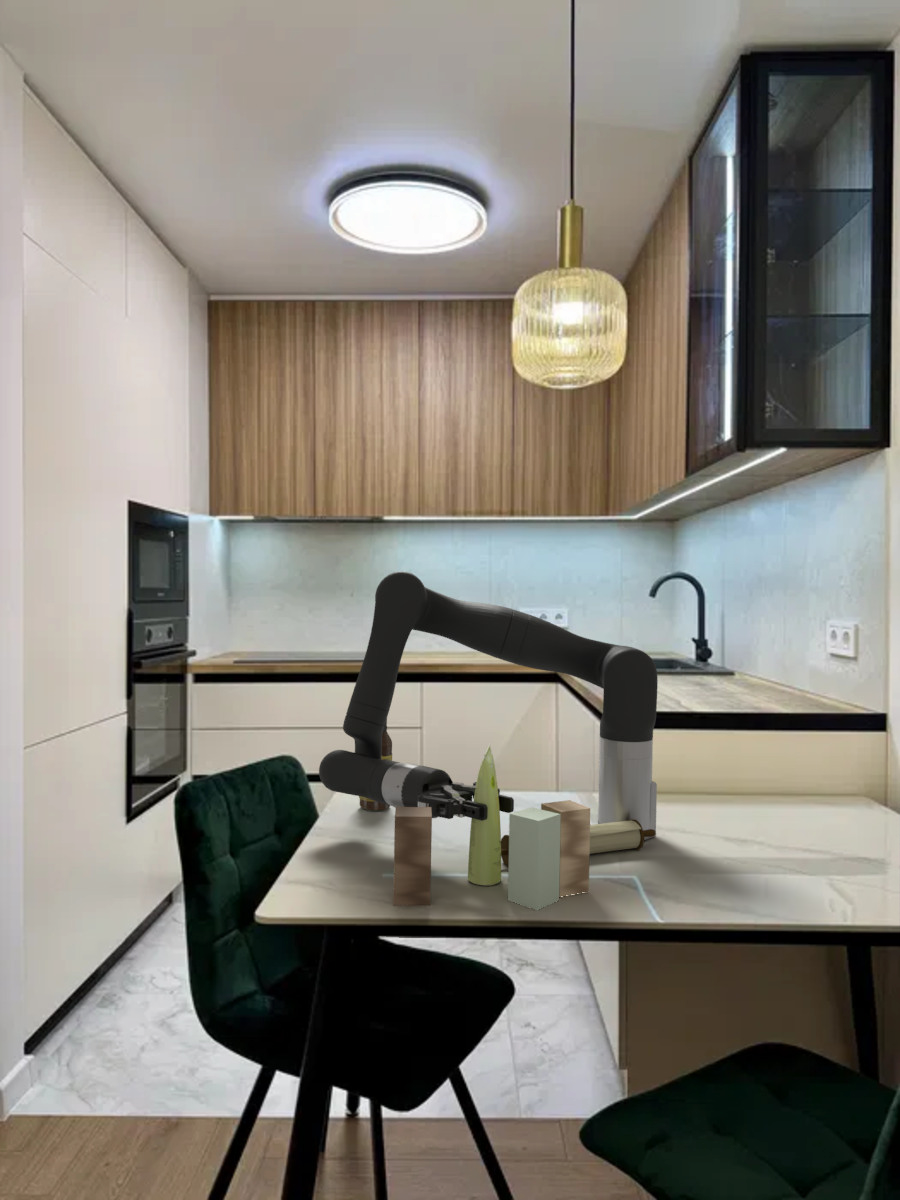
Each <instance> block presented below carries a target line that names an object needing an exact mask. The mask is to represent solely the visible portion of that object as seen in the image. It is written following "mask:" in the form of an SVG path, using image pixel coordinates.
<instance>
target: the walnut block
mask: <svg viewBox="0 0 900 1200" xmlns="http://www.w3.org/2000/svg"><path fill="white" fill-rule="evenodd" d="M432 821H433V818H432V810H431V807H396V808H395V810H394V831H393V832H394V837H393V838H394V841H393V843H394V844H393V845H394V847H393V889H392V891H393V892H392V893H393V898H392V901H393V902H392V904H393V906H431V894H432V893H431V891H432V887H431V886H432V882H431V880H432V838H433V837H432V833H433V831H432V830H433V828H432V827H433V824H432V823H433V822H432Z"/></svg>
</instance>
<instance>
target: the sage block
mask: <svg viewBox="0 0 900 1200" xmlns="http://www.w3.org/2000/svg"><path fill="white" fill-rule="evenodd" d="M508 818H509V823H508V824H509V826H508V828H509V830H508V835H509V867H508V877H507V878H508V883H507V885H508V888H507V901H508V900H509V901H508V902H510V901H511V902H510V903H513V902H515V903H514V904H516V903H517V904H516V905H519V904H521V905H520V906H522V905H523V906H522V907H525V906H527V907H526V908H528V907H530V908H529V909H531V908H533V909H532V910H534V909H536V910H535V911H537V910H538V911H540V910H541V909H540V908H542V909H544V908H546V907H545V906H547V905H549V906H551V905H552V904H551V903H553V904H555V903H554V902H556V901H558V900H559V901H560V898H559V875H560V820H561V814H558V813H554V812H550V811H545V810H541V808H536V807H532V806H531V807H528V808H525V809H522V810H517V811H515V812H514V811H513V812H511V813H509V817H508ZM559 901H558V902H559ZM556 903H557V902H556ZM550 904H551V905H550ZM543 907H544V908H543ZM547 907H548V906H547ZM539 909H540V910H539Z"/></svg>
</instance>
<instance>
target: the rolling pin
mask: <svg viewBox="0 0 900 1200" xmlns="http://www.w3.org/2000/svg"><path fill="white" fill-rule="evenodd" d="M655 835H656V836H657V830H656V831H655V830H653V829H648V830H644V831H643V829H642V826H641V824H640V823H639V822H638V821H637V820H633V819H631V820H629V821H621V822H612V823H603V824H598V823H595V824H590V852H589V855H592V854H598V853H599V854H600V853H607V852H615V851H621V850H630V849H634V850H636V851H638V850H641V849H642V848H643V846H644V843H645V840H644V837H651V838H655V837H654V836H655ZM501 861H502V862H503V864H504V865H505V866H507V868H509V834H504V835H503V836H502V837H501Z"/></svg>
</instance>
